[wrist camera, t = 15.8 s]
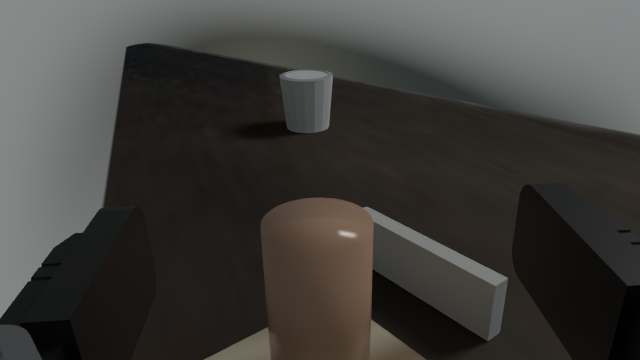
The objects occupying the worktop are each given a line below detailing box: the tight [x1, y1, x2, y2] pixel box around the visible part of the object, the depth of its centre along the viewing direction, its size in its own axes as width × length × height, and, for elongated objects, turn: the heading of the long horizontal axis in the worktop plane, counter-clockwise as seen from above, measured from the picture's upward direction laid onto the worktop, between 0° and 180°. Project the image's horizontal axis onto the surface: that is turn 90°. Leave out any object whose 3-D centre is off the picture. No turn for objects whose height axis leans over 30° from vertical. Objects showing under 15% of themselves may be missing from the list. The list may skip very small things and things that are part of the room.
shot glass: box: [280, 69, 333, 133], centre depth 68 cm, size 7×7×7 cm
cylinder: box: [261, 198, 374, 360], centre depth 25 cm, size 5×5×10 cm
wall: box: [363, 207, 508, 341], centre depth 35 cm, size 12×1×4 cm, turn 38°
